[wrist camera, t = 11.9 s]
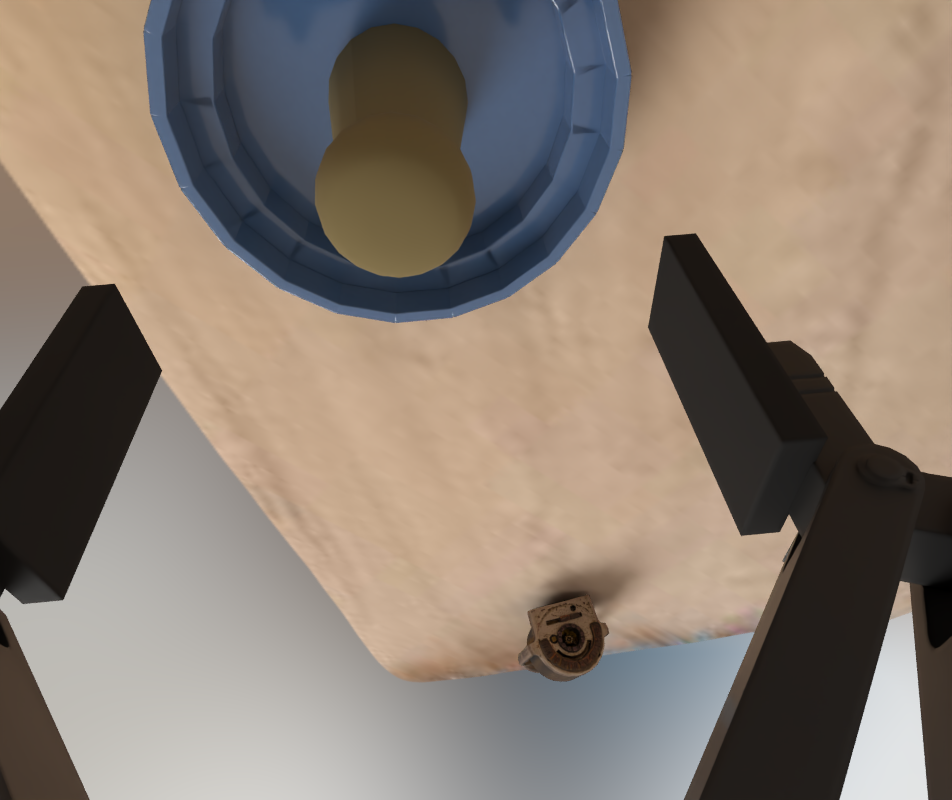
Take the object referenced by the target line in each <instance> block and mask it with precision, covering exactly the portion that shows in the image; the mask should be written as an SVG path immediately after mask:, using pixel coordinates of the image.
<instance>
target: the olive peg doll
mask: <svg viewBox="0 0 952 800" xmlns="http://www.w3.org/2000/svg"><path fill="white" fill-rule="evenodd" d="M328 103H329V112H330V120H331V129H332V137H333V141H332V143H331V144H330V145H329V146H328V147H327V148H326V150H325V153H324V155H323V158H322V161H321V163H320V166H319V169H318V172H317V175H316V178H315V206H316V209H317V212H318V215H319V218H320V221H321V224H322V227H323V230H324V233H325V235H326V236H327V238H328V239H329V240H330V242H331V243H332V244H333V246H334V247H335V248H336V250H337V251H338V252H339V253H340V254H341V255H343V256H344V257H345V258H346V259H348V260H349V261H350V262H352V263H353V264H354V265H356V266H357V267H359V268H362V269H364V270H367V271H369V272H372V273H375V274H377V275H380V276H389V277H398V278H402V277H408V276H414V275H420V274H423V273H425V272H427V271H429V270H432V269H434V268H436V267H438V266H440V265H442V264H443V263H445V262H446V261H447V260H448V259H449V258H450V257H451V256H452V255H453V254H454V253H455V252H457V251H458V250H459V248H460V246H461V244H462V243H463V241H464V239H465V237H466V236H467V234H468V232H469V230H470V227H471V224H472V219H473V214H474V209H475V204H476V199H475V192H474V185H473V178H472V173H471V169H470V167H469V166H468V164H467V162H466V160H465V158H464V156H463V154H462V152H461V150H460V148H461V142H462V136H463V130H464V124H465V118H466V112H467V106H468V99H467V91H466V84H465V79H464V76H463V74H462V72H461V70H460V68H459V66H458V63H457V61H456V59H455V57H454V56H453V55H452V54H451V53H450V52H449V51H448V50H447V49H446V47H445V46H444V45H443V44H442V43H441V42H440V41H439V40H438V39H436V38H435V37H433V36H431V35H429V34H428V33H426V32H424V31H422V30H421V29H419V28H416V27H411V26H405V25H400V24H388V25H383V26H377V27H371V28H369V29H368V30H366V31H364V32H363V33H361V34H359V35H358V36H356V37H354V38H353V39H351V40H350V41H349V43H348V44H347V45H346V46H345V48H344V49H343V50H342V51H341V53H340V54H339V55H338V56H337V58H336V61H335V64H334V66H333V69H332V72H331V75H330V78H329V101H328Z"/></svg>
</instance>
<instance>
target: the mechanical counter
mask: <svg viewBox="0 0 952 800" xmlns="http://www.w3.org/2000/svg"><path fill="white" fill-rule="evenodd" d="M528 617H529V621H530V624H531V630H530V632H529V635H528V639H527V646H526V647H525V649H524V650H523V651H522V652H521V653H520V654H519V655H518V661H519V664H520V665H521V666H524V667H525V668H526V669H527V670H529V671H532V672H535V673H540V674H542V675H543V676H545V677H546V678H548V679H551V680H553V681H570V680H573V679H575V678H577V677H579V676H581V675H584V674H586V673H588V672H589V671H590V670H592V669H593V668H594V667H595V666H596V665H597V664H598V662H599V660H600V659H601V657H602V654H603V650H604V637H605V636H607V635H608V634H609V631H608V627H607V625H606V623H601V622H599V620H598V618H597V615H596V613H595V610H594V607H593V605H592V602H591V599H590V597H589V595H584V596H581V597H577V598H574V599H570V600H567V601H563V602H559V603H555V604H551V605H547V606H543V607H539V608H536V609H532V610H530V611H528Z"/></svg>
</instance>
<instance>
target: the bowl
mask: <svg viewBox="0 0 952 800" xmlns="http://www.w3.org/2000/svg"><path fill="white" fill-rule="evenodd" d="M388 24H400V25H405V26H411V27H416V28H419V29H421V30H422V31H424V32H426V33H428V34H429V35H431V36H433V37H435V38H436V39H438V40H439V41H440V42H441V43H442V44H443V45H444V46H445V47H446V49H447V50H448V51H449V52H450V53H451V54H452V55H453V56H454V57H455V59H456V61H457V63H458V66H459V68H460V70H461V72H462V74H463V76H464V79H465V84H466V91H467V99H468V106H467V112H466V118H465V124H464V130H463V136H462V142H461V148H460V150H461V152H462V154H463V156H464V158H465V160H466V162H467V164H468V166H469V167H470V169H471V173H472V178H473V185H474V192H475V199H476V204H475V209H474V214H473V219H472V224H471V227H470V230H469V232H468V234H467V236H466V237H465V239H464V241H463V243H462V244H461V246H460V248H459V250H458V251H457V252H455V253H454V254H453V255H452V256H451V257H450V258H449V259H448V260H447V261H446V262H445V263H443V264H442V265H440V266H438V267H436V268H434V269H432V270H429V271H427V272H425V273H423V274H420V275H414V276H408V277H402V278H398V277H389V276H380V275H377V274H375V273H372V272H369V271H367V270H364V269H362V268H359V267H357V266H356V265H354V264H353V263H352V262H350V261H349V260H348V259H346V258H345V257H344V256H343V255H341V254H340V253H339V252H338V251H337V250H336V248H335V247H334V246H333V244H332V243H331V242H330V240H329V239H328V238H327V236H326V235H325V233H324V230H323V227H322V224H321V221H320V218H319V215H318V212H317V209H316V206H315V178H316V175H317V172H318V169H319V166H320V163H321V161H322V158H323V155H324V153H325V150H326V148H327V147H328V146H329V145H330V144H331V143H332V141H333V137H332V129H331V120H330V112H329V103H328V101H329V78H330V75H331V72H332V69H333V66H334V64H335V61H336V58H337V56H338V55H339V54H340V53H341V51H342V50H343V49H344V48H345V46H346V45H347V44H348V43H349V41H350V40H351V39H353V38H354V37H356V36H358V35H359V34H361V33H363V32H364V31H366V30H368V29H369V28H371V27H377V26H383V25H388ZM143 33H144V45H145V57H146V69H147V81H148V93H149V105H150V114H151V117H152V120H153V122H154V125H155V127H156V130H157V132H158V135H159V137H160V140H161V142H162V145H163V147H164V150H165V152H166V155H167V157H168V160H169V162H170V165H171V167H172V170H173V172H174V175H175V177H176V180H177V182H178V185H179V187H180V188H181V190H182V192H183V193H184V194H185V196H186V197H187V198H188V200H189V201H190V202H191V203H192V205H193V206H194V207H195V209H196V210H197V211H198V213H199V214H200V215H201V216H202V218H203V219H204V220H205V222H206V223H207V224H208V226H209V227H210V228H211V230H212V231H213V232H214V233H215V235H216V236H217V237H218V239H219V240H220V241H221V243H222V244H223V245H224V246H225V247H226V248H227V249H228V250H230V251H231V252H232V253H233V254H235V255H236V256H237V257H239V258H240V259H241V260H242V261H244V262H245V263H246V264H248V265H249V266H250V267H251V268H253V269H254V270H255V271H257V272H258V273H259V274H260V275H262V276H263V277H264V278H266V279H267V280H268V281H269V282H271V283H272V284H273V285H275V286H276V287H279V289H281V290H283V291H286V292H288V293H290V294H293V295H295V296H297V297H299V298H302V299H304V300H306V301H309V302H311V303H313V304H316V305H318V306H320V307H322V308H325V309H327V310H329V311H332V312H334V313H337V314H343V315H349V316H355V317H361V318H368V319H374V320H380V321H386V322H392V323H395V322H396V323H401V322H412V321H422V320H433V319H444V318H453V317H456V316H459V315H462V314H465V313H467V312H470V311H473V310H476V309H478V308H481V307H484V306H486V305H489V304H492V303H495V302H497V301H500V300H503V299H506V298H507V297H510V296H511V295H513V294H514V293H515V292H517V291H518V290H520V289H521V288H522V287H524V286H525V285H527V284H528V283H529V282H531V281H532V280H534V279H535V278H536V277H538V276H539V275H541V274H542V273H543V272H545V271H546V270H548V269H549V268H551V267H552V266H553V265H555V264H556V263H557V262H558V261H559V260H560V258H561V257H562V256H563V255H564V253H565V252H566V251H567V250H568V248H569V247H570V246H571V245H572V244H573V242H574V241H575V240H576V239H577V237H578V236H579V235H580V234H581V232H582V231H583V230H584V229H585V227H586V226H587V225H588V224H589V222H590V221H591V220H592V219H593V217H594V216H595V215H596V213H597V212H598V209H599V207H600V205H601V202H602V200H603V197H604V195H605V193H606V190H607V188H608V186H609V183H610V181H611V178H612V176H613V174H614V171H615V169H616V166H617V164H618V162H619V159H620V157H621V155H622V152H623V149H624V142H625V133H626V124H627V115H628V106H629V97H630V87H631V78H632V75H631V72H632V71H631V66H630V61H629V55H628V50H627V45H626V40H625V35H624V29H623V24H622V19H621V14H620V9H619V3H618V0H151V2H150V6H149V10H148V14H147V17H146V21H145V25H144V31H143Z"/></svg>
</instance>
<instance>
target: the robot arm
mask: <svg viewBox="0 0 952 800" xmlns="http://www.w3.org/2000/svg"><path fill="white" fill-rule="evenodd" d="M648 328H649V330H650V333H651V335H652V337H653V339H654V342H655V344H656V346H657V348H658V351H659V353H660V355H661V357H662V360H663V362H664V364H665V366H666V369H667V371H668V373H669V375H670V378H671V380H672V382H673V384H674V387H675V389H676V391H677V393H678V395H679V398H680V400H681V402H682V404H683V407H684V409H685V411H686V413H687V416H688V418H689V420H690V422H691V425H692V427H693V429H694V431H695V434H696V436H697V438H698V440H699V443H700V445H701V447H702V449H703V452H704V454H705V456H706V458H707V461H708V463H709V465H710V467H711V470H712V472H713V474H714V476H715V479H716V481H717V483H718V485H719V487H720V490H721V492H722V494H723V496H724V499H725V501H726V503H727V505H728V508H729V510H730V512H731V514H732V517H733V519H734V521H735V523H736V526H737V528H738V530H739V532H740V535H741V536H743V535H753V534H764V533H775V532H780V531H781V529H782V527H783V525H784V523H785V521H786V519H787V517H788V515H790V516H791V518H792V520H793V522H794V524H795V526H796V528H797V530H798V533H797V535H796V537H795V539H794V541H793V542H792V544H791V546H790V548H789V550H788V552H787V553H786V555H785V557H784V559H783V562H784V564H783V567H782V569H781V572H780V574H779V576H778V579H777V581H776V583H775V586H774V588H773V590H772V593H771V595H770V598H769V600H768V602H767V605H766V607H765V609H764V612H763V614H762V616H761V619H760V621H759V624H758V626H757V628H756V631H755V633H754V635H753V638H752V640H751V643H750V645H749V647H748V650H747V652H746V654H745V657H744V659H743V662H742V664H741V666H740V668H739V671H738V673H737V675H736V678H735V680H734V683H733V685H732V687H731V690H730V692H729V694H728V697H727V699H726V701H725V704H724V707H723V709H722V711H721V714H720V716H719V718H718V720H717V723H716V725H715V728H714V730H713V732H712V735H711V737H710V739H709V742H708V744H707V746H706V749H705V751H704V754H703V756H702V758H701V761H700V763H699V765H698V768H697V770H696V773H695V775H694V777H693V779H692V782H691V784H690V786H689V789H688V791H687V794H686V796H685V798H684V800H839V799H840V795H841V792H842V788H843V784H844V781H845V777H846V774H847V770H848V767H849V763H850V759H851V756H852V752H853V748H854V745H855V741H856V737H857V734H858V730H859V727H860V723H861V720H862V716H863V712H864V709H865V705H866V702H867V698H868V694H869V691H870V687H871V683H872V680H873V676H874V673H875V669H876V665H877V662H878V658H879V654H880V651H881V647H882V644H883V640H884V636H885V633H886V629H887V626H888V622H889V618H890V615H891V611H892V608H893V604H894V600H895V597H896V593H897V589H898V586H899V582H900V581H903V582H908V583H910V592H911V604H912V615H913V626H914V638H915V650H916V662H917V671H918V672H917V673H918V685H919V697H920V708H921V720H922V731H923V742H924V755H925V766H926V778H927V789H928V800H952V477H946V476H940V475H934V474H928V473H924V472H920V470H919V468H918V467H917V466H916V465H915V464H914V463H913V462H912V461H911V460H909V459H908V458H907V457H906V456H905V455H903V454H901V453H899V452H897V451H895V450H893V449H891V448H888V447H884V446H880V445H876V444H874V443H873V441H872V440H871V438H870V437H869V436H868V434H867V433H866V431H865V430H864V429H863V427H862V426H861V424H860V423H859V422H858V420H857V419H856V417H855V416H854V415H853V413H852V412H851V410H850V409H849V408H848V406H847V405H846V403H845V402H844V401H843V399H842V398H841V396H840V395H839V394H838V392H837V391H836V392H835V391H834V387H833V385H832V384H831V382H830V381H829V380H828V378H827V377H824V373H823V371H822V370H821V368H820V367H819V366H818V364H817V363H816V361H815V360H814V359H813V357H812V356H811V355H810V354H809V353H807V352H806V351H804V350H803V349H801V348H800V347H799V346H797V345H796V344H794V343H793V342H792V341H780V342H769V343H767V342H766V341H765V339H764V338H763V336H762V335H761V333H760V331H759V330H758V328H757V327H756V325H755V324H754V322H753V321H752V319H751V318H750V316H749V315H748V313H747V311H746V310H745V308H744V307H743V305H742V304H741V302H740V301H739V299H738V298H737V296H736V295H735V293H734V291H733V290H732V288H731V287H730V285H729V284H728V282H727V281H726V279H725V278H724V276H723V275H722V273H721V271H720V270H719V268H718V267H717V265H716V264H715V262H714V261H713V259H712V258H711V256H710V255H709V253H708V251H707V250H706V248H705V247H704V245H703V244H702V242H701V241H700V239H699V238H698V236H697V234H696V233H695V234H684V235H672V236H664V241H663V246H662V252H661V258H660V263H659V269H658V274H657V280H656V286H655V291H654V297H653V303H652V308H651V314H650V320H649V325H648ZM161 372H162V370H161V368H160V366H159V364H158V362H157V360H156V359H155V357H154V355H153V353H152V351H151V349H150V348H149V346H148V344H147V342H146V340H145V338H144V336H143V335H142V333H141V331H140V329H139V327H138V325H137V324H136V322H135V320H134V318H133V316H132V314H131V313H130V311H129V309H128V307H127V305H126V303H125V302H124V300H123V298H122V296H121V294H120V292H119V290H118V289H117V287H116V285H115V284H107V285H95V286H84V287H82V288H81V290H80V291H79V292H78V294H77V295H76V297H75V298H74V300H73V301H72V303H71V304H70V306H69V307H68V309H67V310H66V312H65V313H64V315H63V316H62V318H61V320H60V321H59V322H58V324H57V325H56V327H55V329H54V330H53V331H52V333H51V334H50V336H49V337H48V339H47V340H46V342H45V343H44V345H43V346H42V348H41V349H40V351H39V353H38V354H37V355H36V357H35V358H34V360H33V361H32V363H31V364H30V366H29V368H28V369H27V370H26V372H25V374H24V375H23V376H22V378H21V380H20V381H19V382H18V384H17V386H16V387H15V388H14V390H13V391H12V393H11V394H10V396H9V397H8V399H7V400H6V402H5V404H4V405H3V406H2V408H1V409H0V597H1V595H2V593H3V591H4V589H6V590H7V591H9V592H10V593H11V594H12V595H13V596H14V597H16V598H17V599H18V600H19V601H20V602H21V603H22V604H27V603H38V602H49V601H59V600H63V599H64V597H65V595H66V593H67V590H68V588H69V586H70V583H71V581H72V578H73V576H74V574H75V572H76V569H77V567H78V565H79V562H80V560H81V558H82V555H83V553H84V551H85V548H86V546H87V544H88V541H89V539H90V536H91V534H92V532H93V530H94V527H95V525H96V523H97V521H98V518H99V516H100V513H101V511H102V509H103V507H104V504H105V502H106V500H107V497H108V495H109V493H110V490H111V488H112V486H113V483H114V481H115V479H116V476H117V474H118V472H119V470H120V467H121V465H122V463H123V460H124V458H125V456H126V453H127V451H128V449H129V446H130V444H131V441H132V439H133V437H134V435H135V432H136V430H137V427H138V425H139V423H140V421H141V418H142V416H143V414H144V411H145V409H146V407H147V405H148V402H149V400H150V397H151V395H152V393H153V390H154V388H155V386H156V384H157V381H158V379H159V377H160V374H161ZM0 800H89V798H88V795H87V793H86V791H85V789H84V786H83V784H82V782H81V780H80V778H79V775H78V773H77V771H76V769H75V766H74V764H73V762H72V760H71V758H70V755H69V753H68V751H67V749H66V747H65V744H64V742H63V740H62V738H61V736H60V733H59V731H58V729H57V727H56V725H55V722H54V720H53V718H52V716H51V714H50V711H49V709H48V707H47V705H46V703H45V700H44V698H43V696H42V694H41V691H40V689H39V687H38V685H37V683H36V680H35V678H34V676H33V674H32V672H31V669H30V667H29V665H28V663H27V660H26V658H25V656H24V654H23V652H22V650H21V647H20V645H19V643H18V641H17V639H16V636H15V634H14V632H13V630H12V628H11V625H10V623H9V621H8V619H7V616H6V615H5V614H4V613H3V612H2V611H1V610H0Z"/></svg>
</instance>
